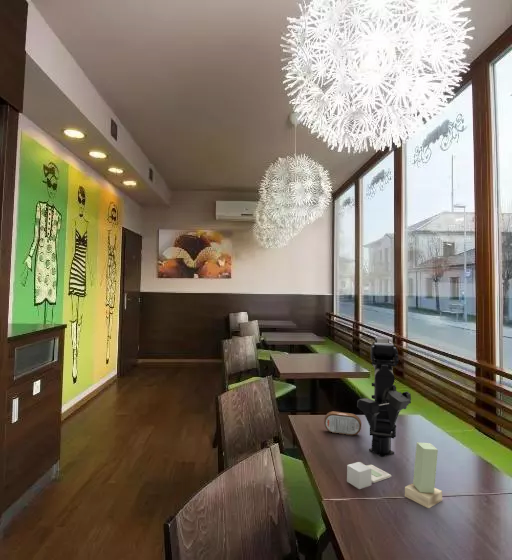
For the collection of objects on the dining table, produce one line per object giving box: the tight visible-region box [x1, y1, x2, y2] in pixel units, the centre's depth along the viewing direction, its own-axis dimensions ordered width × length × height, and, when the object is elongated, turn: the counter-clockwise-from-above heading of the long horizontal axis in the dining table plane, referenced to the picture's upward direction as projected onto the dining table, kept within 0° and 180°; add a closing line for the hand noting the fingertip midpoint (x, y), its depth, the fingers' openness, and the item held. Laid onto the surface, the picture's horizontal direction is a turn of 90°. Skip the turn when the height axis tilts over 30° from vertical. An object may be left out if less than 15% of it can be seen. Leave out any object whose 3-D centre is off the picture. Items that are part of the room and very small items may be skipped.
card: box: [367, 464, 392, 484], centre depth 115 cm, size 8×8×1 cm
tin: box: [323, 411, 362, 436], centre depth 149 cm, size 15×3×8 cm, turn 74°
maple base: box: [404, 482, 443, 509], centre depth 102 cm, size 7×7×3 cm
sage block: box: [412, 442, 439, 493], centre depth 102 cm, size 4×4×12 cm
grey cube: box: [346, 461, 372, 490], centre depth 109 cm, size 5×5×5 cm
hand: (383, 428), depth 119 cm, fingers open, 9 cm apart
